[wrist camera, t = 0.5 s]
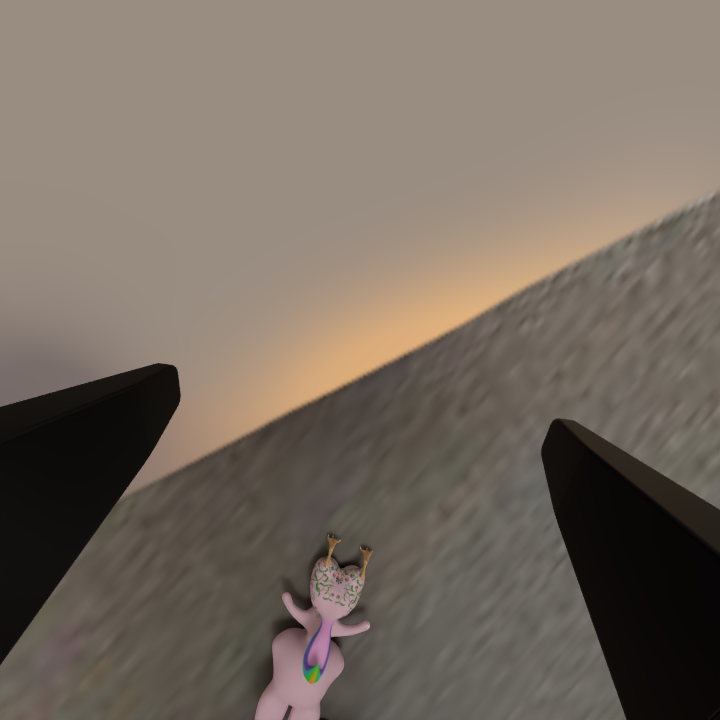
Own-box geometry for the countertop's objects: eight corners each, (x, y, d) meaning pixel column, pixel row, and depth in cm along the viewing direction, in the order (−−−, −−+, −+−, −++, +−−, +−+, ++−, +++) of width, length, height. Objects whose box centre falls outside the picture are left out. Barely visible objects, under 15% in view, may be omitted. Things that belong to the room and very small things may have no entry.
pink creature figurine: (310, 516, 28) (236, 710, 28) (300, 559, 22) (206, 806, 22) (390, 545, 28) (317, 738, 28) (402, 595, 22) (309, 840, 22)
